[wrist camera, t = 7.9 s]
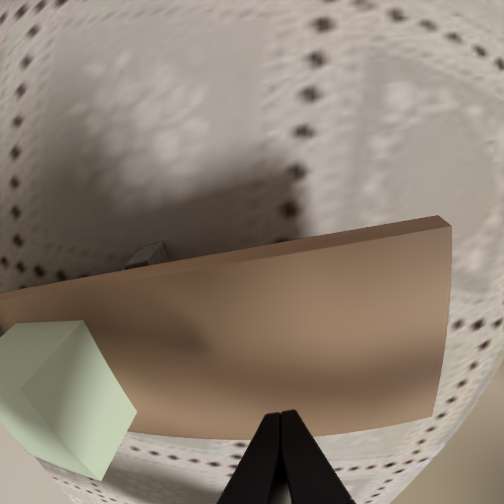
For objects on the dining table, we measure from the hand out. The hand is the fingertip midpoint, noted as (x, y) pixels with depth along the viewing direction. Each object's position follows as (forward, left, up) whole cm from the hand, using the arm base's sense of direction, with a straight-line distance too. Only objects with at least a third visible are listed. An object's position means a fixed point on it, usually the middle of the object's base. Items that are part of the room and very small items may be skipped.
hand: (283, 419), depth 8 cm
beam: (0, +4, -4) cm, 6 cm away
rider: (0, +9, -3) cm, 10 cm away
